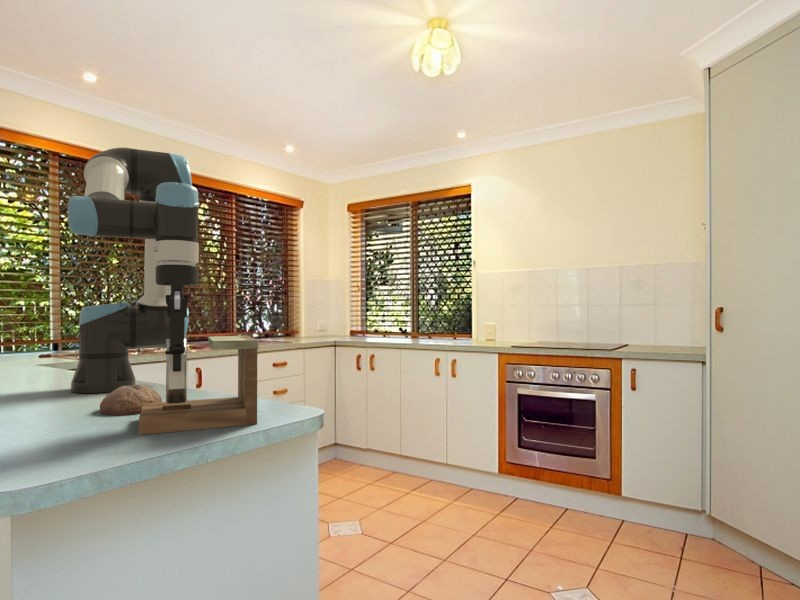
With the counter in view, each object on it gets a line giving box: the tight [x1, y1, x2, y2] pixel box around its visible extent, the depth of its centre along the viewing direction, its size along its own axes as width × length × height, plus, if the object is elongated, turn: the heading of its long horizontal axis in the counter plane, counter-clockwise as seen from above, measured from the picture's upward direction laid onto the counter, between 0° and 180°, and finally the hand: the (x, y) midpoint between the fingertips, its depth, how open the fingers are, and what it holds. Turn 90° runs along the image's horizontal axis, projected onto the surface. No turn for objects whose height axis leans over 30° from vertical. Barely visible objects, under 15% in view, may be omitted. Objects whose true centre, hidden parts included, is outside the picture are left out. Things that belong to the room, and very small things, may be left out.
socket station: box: [138, 335, 259, 436], centre depth 99 cm, size 16×20×16 cm
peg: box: [165, 337, 188, 403], centre depth 97 cm, size 4×4×12 cm
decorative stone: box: [99, 384, 163, 416], centre depth 110 cm, size 12×12×6 cm
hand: (176, 386), depth 97 cm, fingers closed on peg, 3 cm apart
